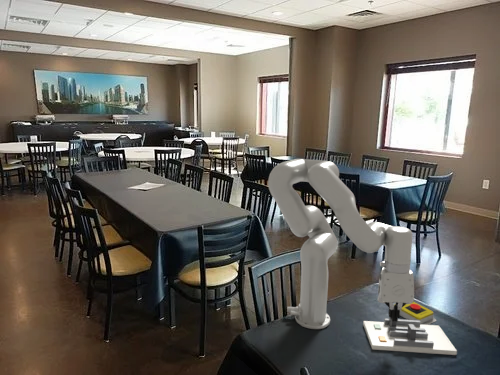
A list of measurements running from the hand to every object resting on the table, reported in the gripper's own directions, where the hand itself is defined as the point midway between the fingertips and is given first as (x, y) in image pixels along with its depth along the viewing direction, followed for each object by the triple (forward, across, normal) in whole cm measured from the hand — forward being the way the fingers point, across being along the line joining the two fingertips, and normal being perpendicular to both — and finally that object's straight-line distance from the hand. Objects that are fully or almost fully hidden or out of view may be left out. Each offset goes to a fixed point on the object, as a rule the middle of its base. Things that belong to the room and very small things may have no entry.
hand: (393, 319), depth 119 cm
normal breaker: (+7, +2, +7) cm, 11 cm away
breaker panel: (+10, +6, +4) cm, 12 cm away
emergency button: (+10, +13, +20) cm, 26 cm away
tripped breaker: (+8, +6, 0) cm, 10 cm away
